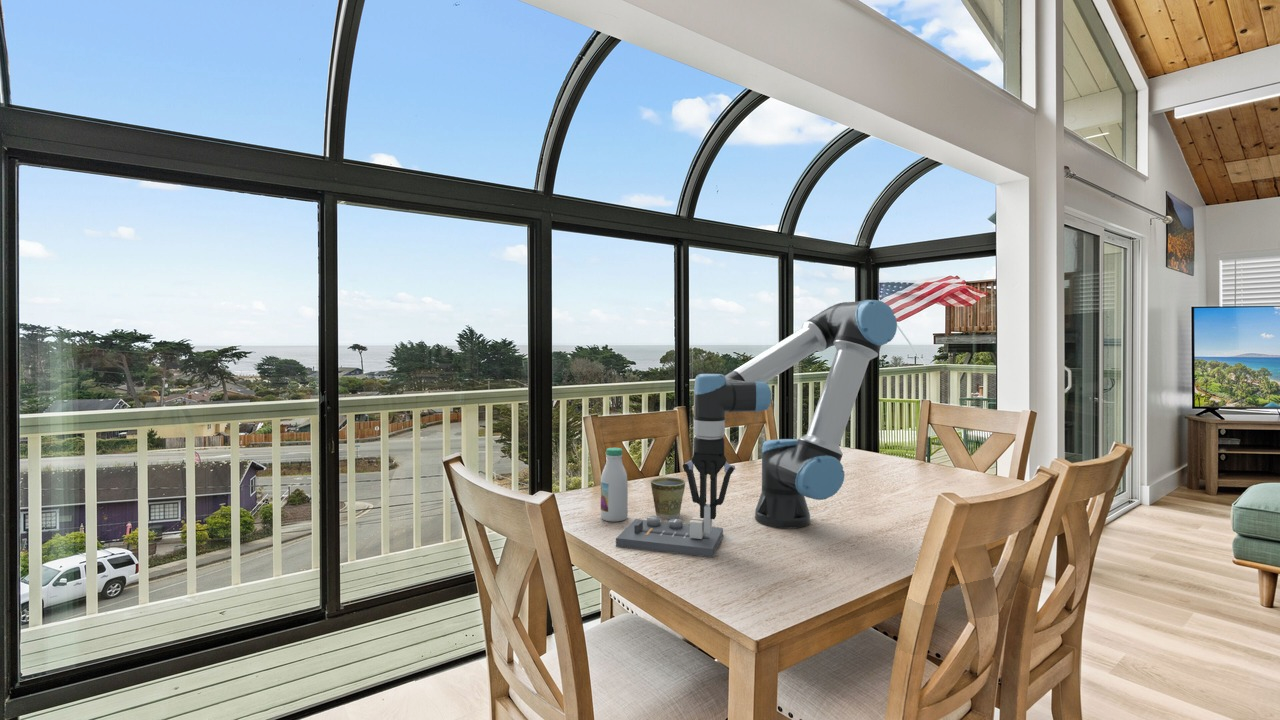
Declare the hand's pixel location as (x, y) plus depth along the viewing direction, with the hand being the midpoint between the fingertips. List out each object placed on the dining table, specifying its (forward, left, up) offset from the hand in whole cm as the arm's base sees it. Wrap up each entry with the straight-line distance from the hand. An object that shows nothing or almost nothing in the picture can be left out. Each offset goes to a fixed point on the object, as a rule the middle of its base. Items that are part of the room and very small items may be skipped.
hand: (707, 531), depth 144 cm
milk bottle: (+30, -14, -4) cm, 33 cm away
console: (+10, -1, -4) cm, 10 cm away
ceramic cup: (+16, -23, -4) cm, 28 cm away
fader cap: (+3, 0, -1) cm, 3 cm away
